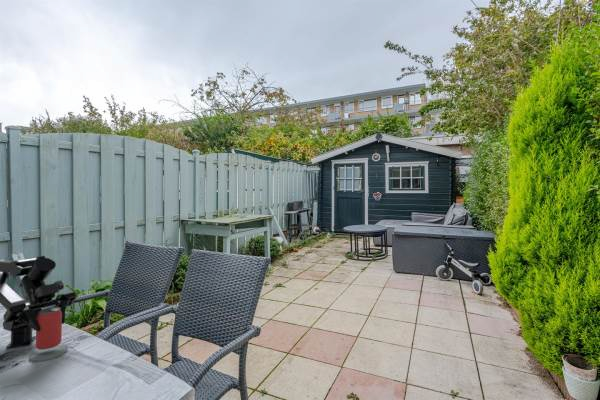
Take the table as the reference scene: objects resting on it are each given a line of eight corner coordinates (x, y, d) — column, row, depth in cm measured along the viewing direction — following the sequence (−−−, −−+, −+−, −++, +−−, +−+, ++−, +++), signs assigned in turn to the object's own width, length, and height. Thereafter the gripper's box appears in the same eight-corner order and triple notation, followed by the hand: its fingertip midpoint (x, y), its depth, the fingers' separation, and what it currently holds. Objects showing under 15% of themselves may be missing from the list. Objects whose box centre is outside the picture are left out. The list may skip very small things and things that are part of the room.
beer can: (46, 351, 95) (47, 314, 95) (30, 349, 97) (31, 312, 97) (66, 342, 102) (67, 307, 102) (50, 340, 103) (51, 305, 103)
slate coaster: (34, 350, 101) (34, 348, 101) (70, 344, 106) (70, 342, 106) (23, 364, 92) (23, 362, 92) (63, 357, 97) (63, 355, 97)
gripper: (8, 280, 93) (25, 323, 88) (75, 269, 110) (92, 304, 105) (-4, 301, 96) (11, 343, 91) (62, 287, 113) (78, 322, 108)
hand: (51, 326), depth 99 cm, fingers closed on beer can, 7 cm apart
